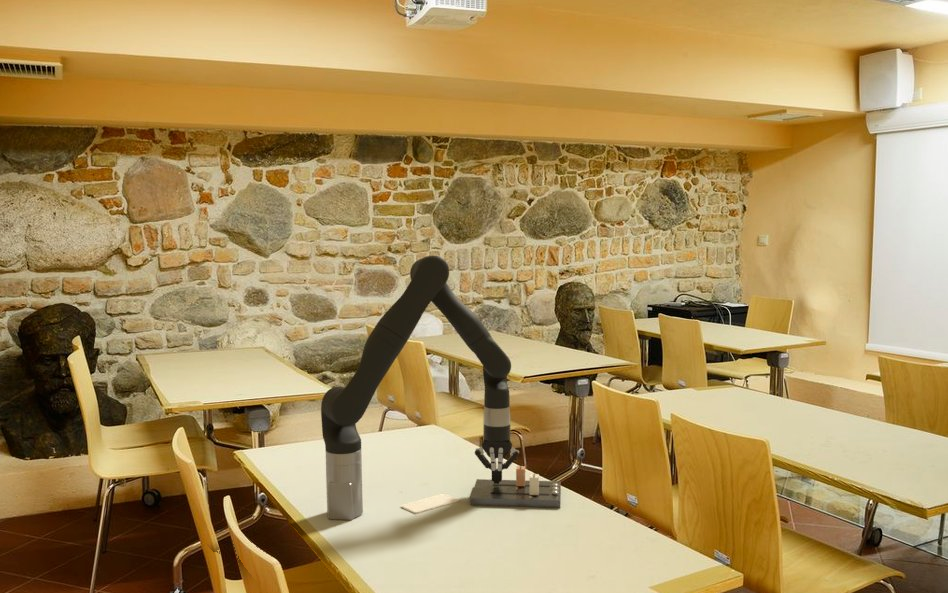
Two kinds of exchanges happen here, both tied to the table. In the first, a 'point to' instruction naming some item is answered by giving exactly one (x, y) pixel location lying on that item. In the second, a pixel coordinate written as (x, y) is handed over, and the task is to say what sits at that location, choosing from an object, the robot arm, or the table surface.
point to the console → (515, 494)
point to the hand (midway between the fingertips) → (496, 482)
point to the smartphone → (429, 503)
